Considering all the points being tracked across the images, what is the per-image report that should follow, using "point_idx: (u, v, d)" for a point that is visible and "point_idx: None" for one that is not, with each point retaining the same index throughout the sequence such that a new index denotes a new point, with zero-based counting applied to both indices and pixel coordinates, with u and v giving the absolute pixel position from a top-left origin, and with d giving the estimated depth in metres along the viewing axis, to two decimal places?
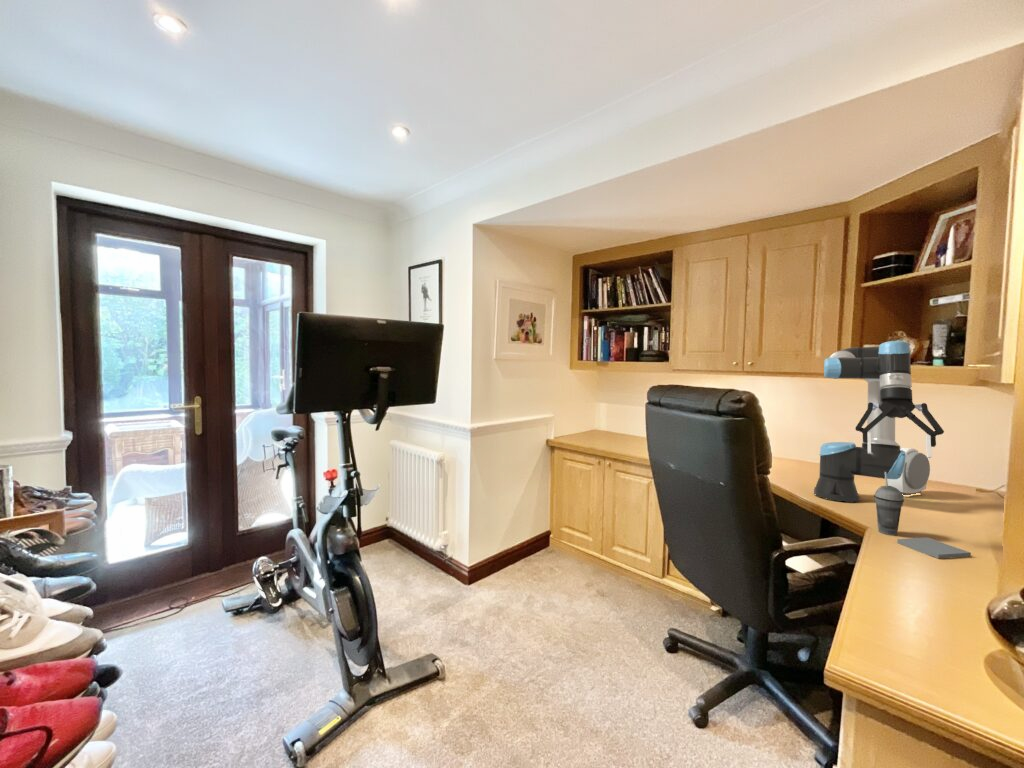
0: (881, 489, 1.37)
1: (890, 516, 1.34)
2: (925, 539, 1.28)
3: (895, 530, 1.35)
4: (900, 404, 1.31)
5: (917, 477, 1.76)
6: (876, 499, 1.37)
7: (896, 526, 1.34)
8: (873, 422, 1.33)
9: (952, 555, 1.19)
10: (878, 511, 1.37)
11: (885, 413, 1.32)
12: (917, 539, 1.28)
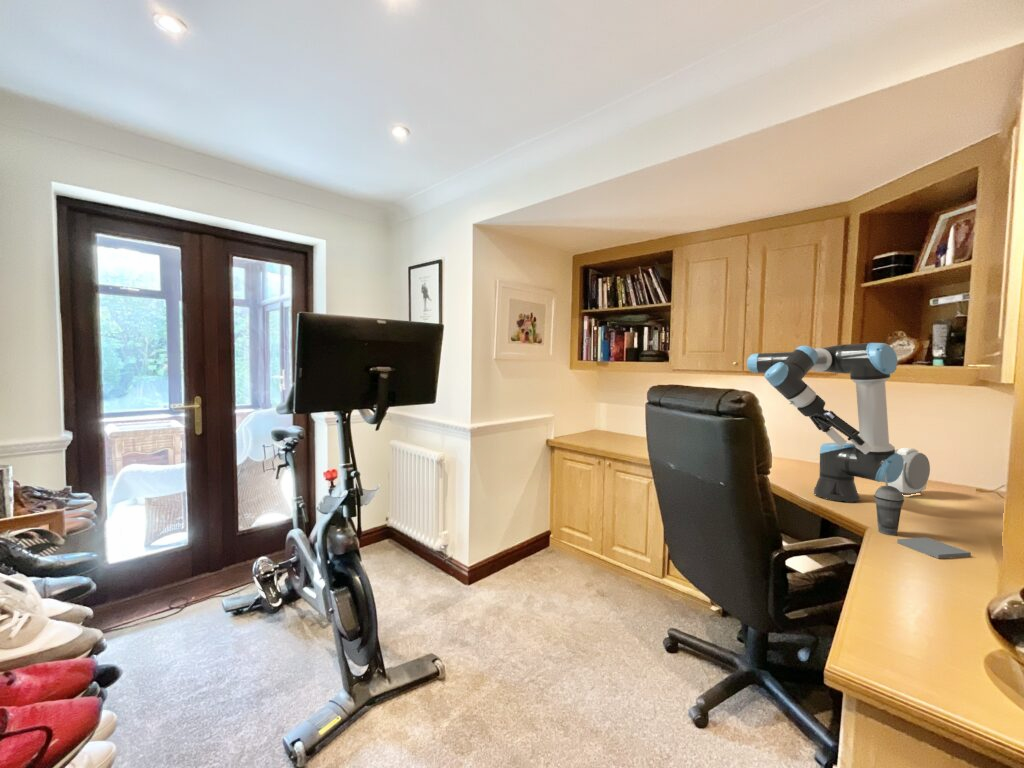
0: (881, 489, 1.37)
1: (890, 516, 1.34)
2: (925, 539, 1.28)
3: (895, 530, 1.35)
4: (817, 415, 1.39)
5: (917, 477, 1.76)
6: (876, 499, 1.37)
7: (896, 526, 1.34)
8: (820, 426, 1.45)
9: (952, 555, 1.19)
10: (878, 511, 1.37)
11: (817, 422, 1.43)
12: (917, 539, 1.28)
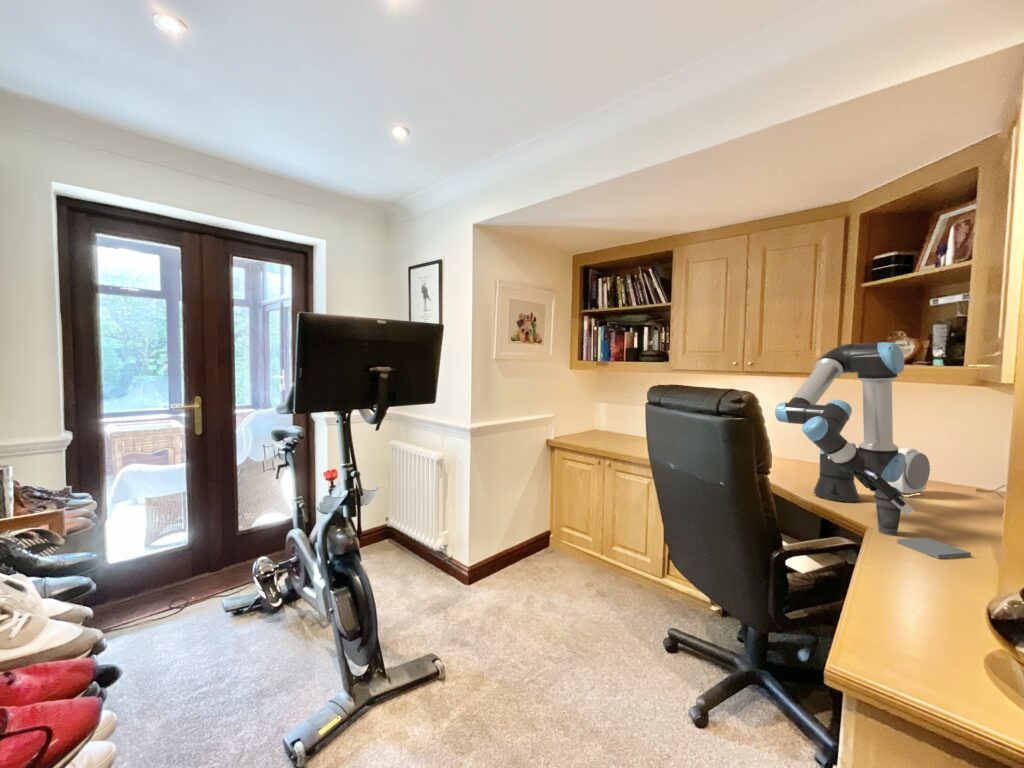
0: None
1: (890, 516, 1.34)
2: (925, 539, 1.28)
3: (895, 530, 1.34)
4: (856, 469, 1.37)
5: (917, 477, 1.76)
6: (876, 499, 1.37)
7: (896, 526, 1.34)
8: (865, 483, 1.41)
9: (952, 555, 1.19)
10: (878, 511, 1.37)
11: (858, 477, 1.40)
12: (917, 539, 1.28)
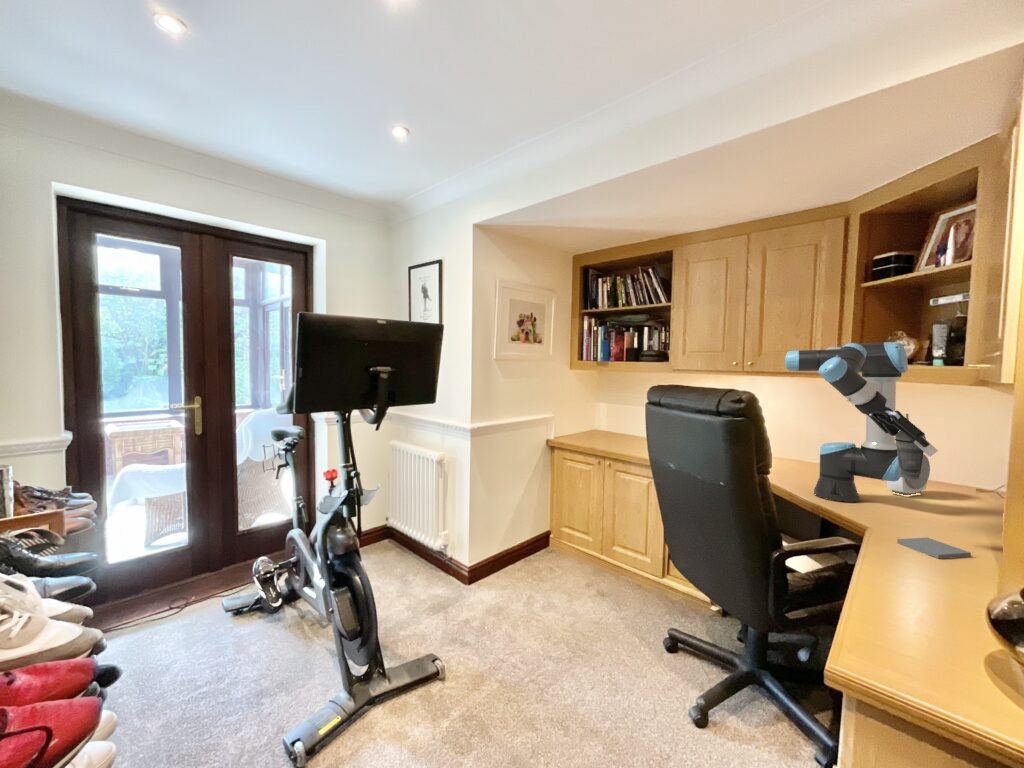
0: None
1: (912, 459, 1.28)
2: (925, 539, 1.28)
3: (918, 473, 1.28)
4: (876, 411, 1.31)
5: None
6: (897, 442, 1.31)
7: (919, 469, 1.28)
8: (885, 427, 1.35)
9: (952, 555, 1.19)
10: (899, 455, 1.31)
11: (878, 421, 1.33)
12: (917, 539, 1.28)
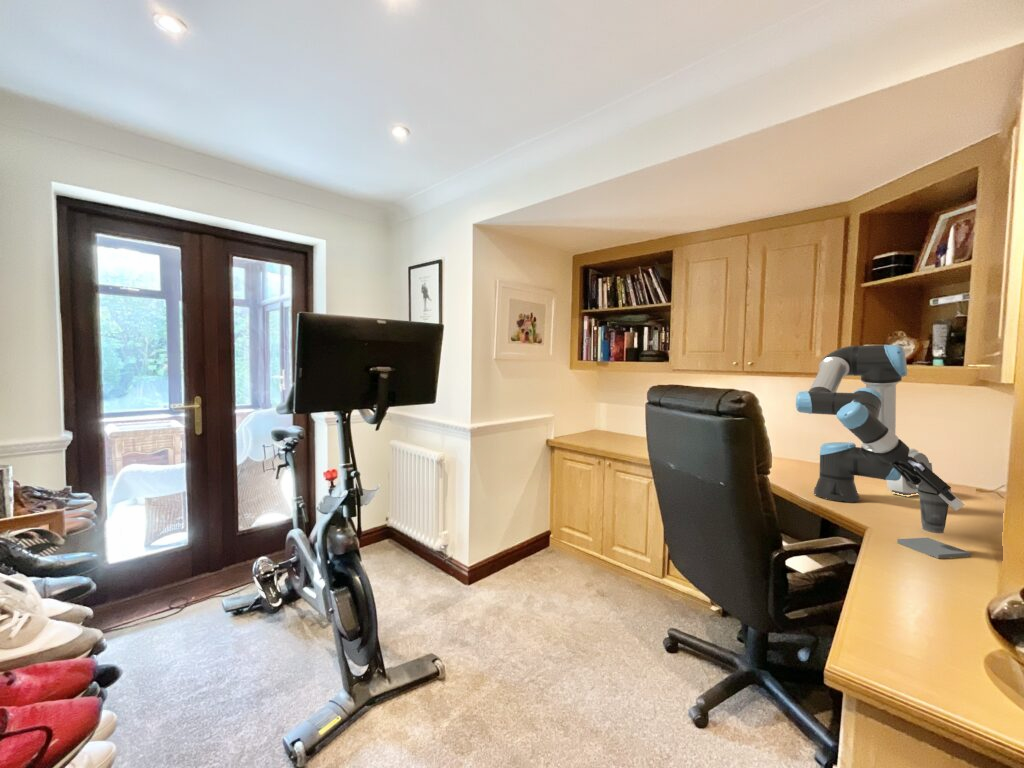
0: None
1: (937, 512, 1.21)
2: (925, 539, 1.28)
3: (942, 527, 1.21)
4: None
5: None
6: (920, 493, 1.24)
7: (943, 523, 1.21)
8: (907, 476, 1.28)
9: (952, 555, 1.19)
10: (922, 506, 1.24)
11: (900, 469, 1.27)
12: (917, 539, 1.28)
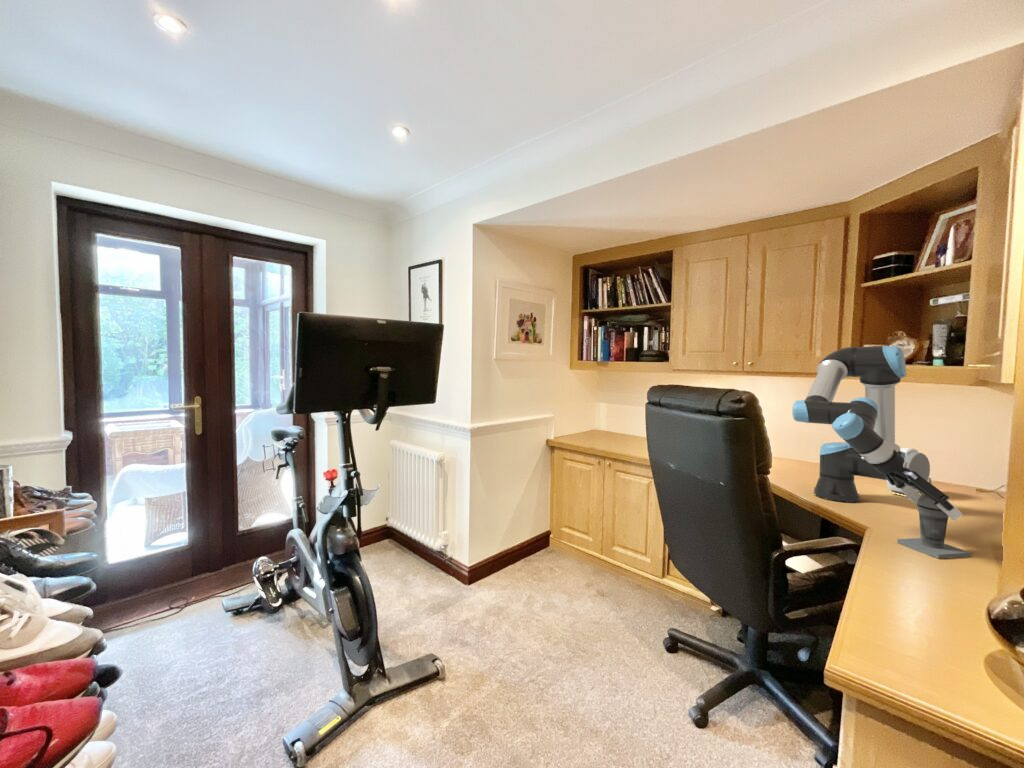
0: (925, 496, 1.24)
1: (936, 527, 1.22)
2: None
3: (941, 542, 1.22)
4: (894, 472, 1.25)
5: None
6: (919, 508, 1.25)
7: (942, 538, 1.22)
8: (895, 482, 1.30)
9: (952, 555, 1.19)
10: (922, 521, 1.24)
11: (892, 478, 1.28)
12: (917, 539, 1.28)
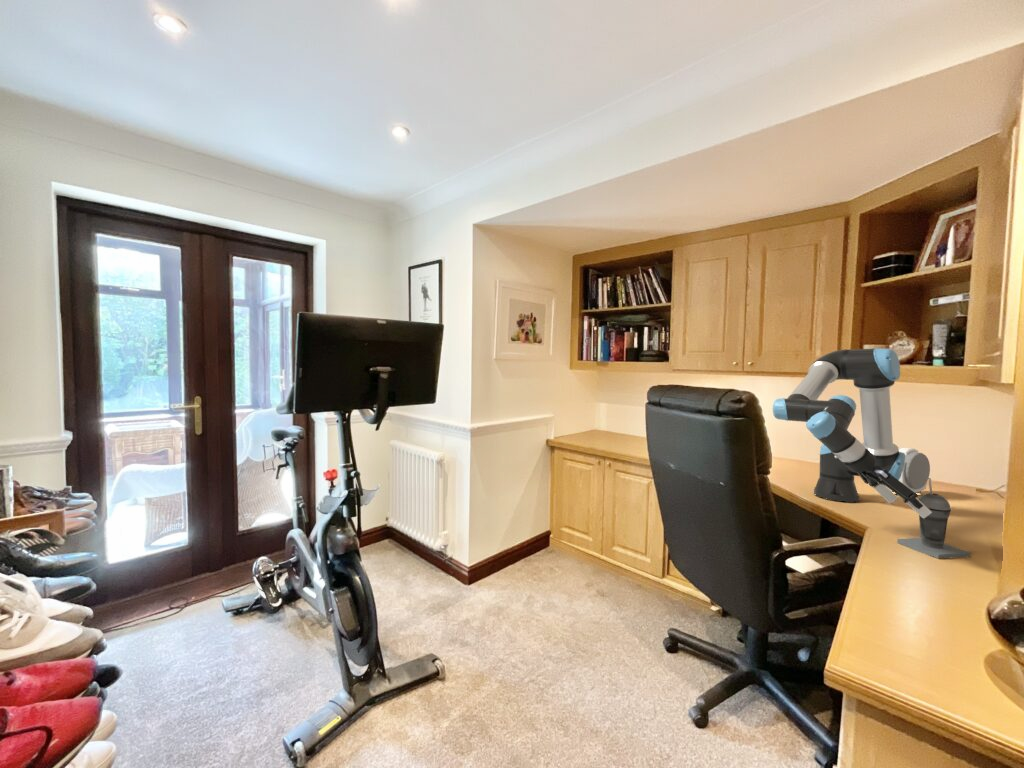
0: (925, 497, 1.24)
1: (936, 527, 1.22)
2: None
3: (941, 543, 1.22)
4: (866, 471, 1.26)
5: (917, 477, 1.76)
6: None
7: (942, 538, 1.22)
8: (868, 480, 1.32)
9: (952, 555, 1.19)
10: (922, 521, 1.24)
11: (865, 477, 1.29)
12: (917, 539, 1.28)
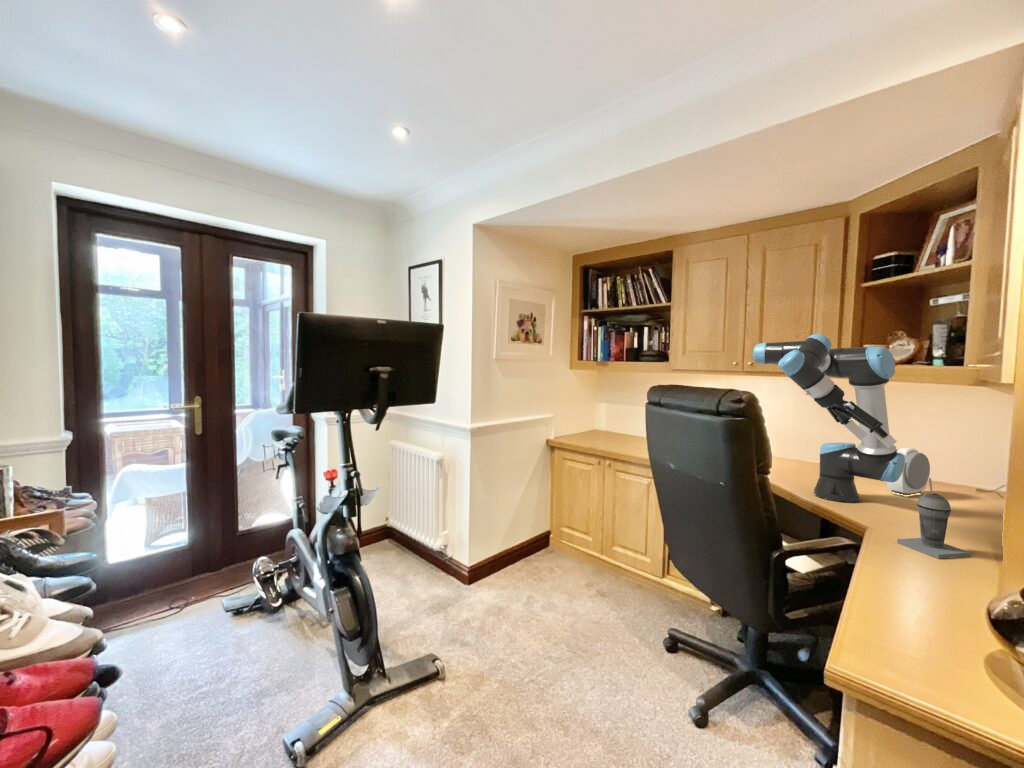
0: (925, 497, 1.24)
1: (936, 527, 1.22)
2: None
3: (941, 543, 1.22)
4: (835, 406, 1.30)
5: (917, 477, 1.76)
6: (919, 508, 1.25)
7: (942, 538, 1.22)
8: (838, 418, 1.36)
9: (952, 555, 1.19)
10: (922, 521, 1.24)
11: (835, 413, 1.33)
12: (917, 539, 1.28)
